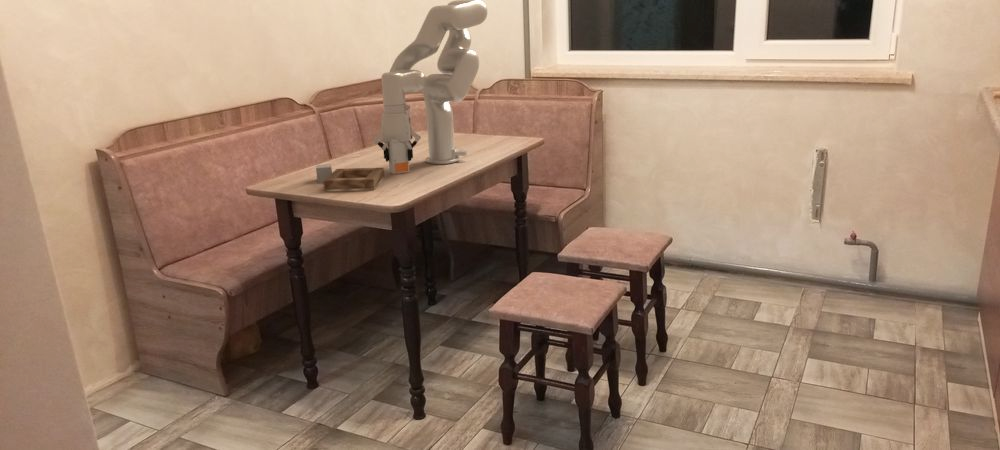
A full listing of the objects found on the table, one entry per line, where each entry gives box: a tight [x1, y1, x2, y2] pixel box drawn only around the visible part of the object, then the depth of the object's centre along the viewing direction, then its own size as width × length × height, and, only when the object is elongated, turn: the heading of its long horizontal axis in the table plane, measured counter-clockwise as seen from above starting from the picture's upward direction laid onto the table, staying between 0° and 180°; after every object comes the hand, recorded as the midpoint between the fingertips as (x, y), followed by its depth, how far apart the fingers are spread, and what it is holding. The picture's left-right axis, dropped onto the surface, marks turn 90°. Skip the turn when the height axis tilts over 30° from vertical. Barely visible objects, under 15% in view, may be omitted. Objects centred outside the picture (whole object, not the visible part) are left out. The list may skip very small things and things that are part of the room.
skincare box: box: [388, 140, 410, 175], centre depth 263 cm, size 6×4×12 cm
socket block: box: [323, 167, 385, 192], centre depth 250 cm, size 16×17×4 cm
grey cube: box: [315, 163, 333, 184], centre depth 257 cm, size 5×5×5 cm
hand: (398, 160), depth 264 cm, fingers closed on skincare box, 7 cm apart
